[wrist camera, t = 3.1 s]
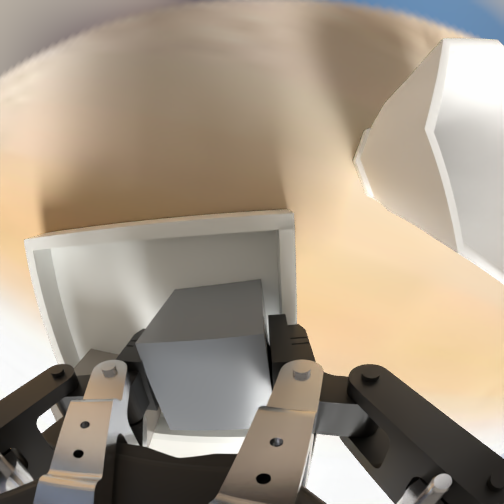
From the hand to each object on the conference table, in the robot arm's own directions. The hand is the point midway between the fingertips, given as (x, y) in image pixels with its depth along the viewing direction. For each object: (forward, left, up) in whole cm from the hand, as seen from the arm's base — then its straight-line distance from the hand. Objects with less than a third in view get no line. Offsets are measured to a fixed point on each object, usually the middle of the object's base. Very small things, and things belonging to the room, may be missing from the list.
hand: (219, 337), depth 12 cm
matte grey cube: (0, 0, -1) cm, 1 cm away
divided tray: (+3, +7, -2) cm, 8 cm away
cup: (-10, -8, -2) cm, 13 cm away
